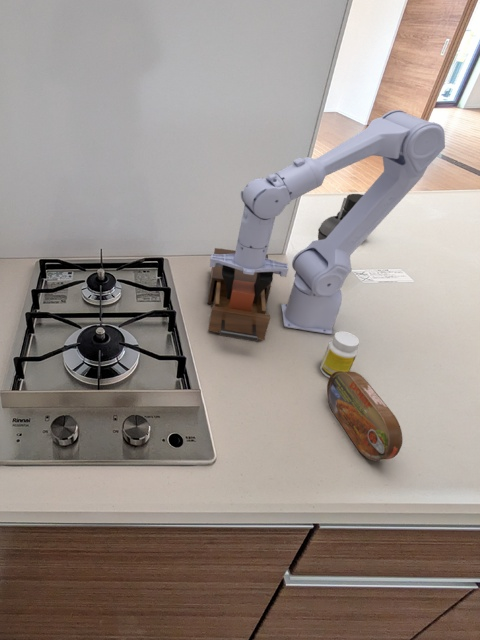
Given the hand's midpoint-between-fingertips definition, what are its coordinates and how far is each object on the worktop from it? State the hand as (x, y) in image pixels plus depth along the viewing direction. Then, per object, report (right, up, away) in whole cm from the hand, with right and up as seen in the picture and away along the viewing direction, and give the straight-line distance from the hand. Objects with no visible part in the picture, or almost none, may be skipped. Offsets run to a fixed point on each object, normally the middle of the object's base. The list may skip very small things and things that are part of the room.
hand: (240, 298), depth 91 cm
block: (0, -1, +1) cm, 1 cm away
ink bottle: (+43, +16, +35) cm, 58 cm away
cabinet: (+3, +1, +13) cm, 14 cm away
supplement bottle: (+15, -14, -8) cm, 22 cm away
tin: (+12, -21, -19) cm, 31 cm away
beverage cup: (+27, +5, +20) cm, 34 cm away
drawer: (0, -5, +2) cm, 6 cm away
